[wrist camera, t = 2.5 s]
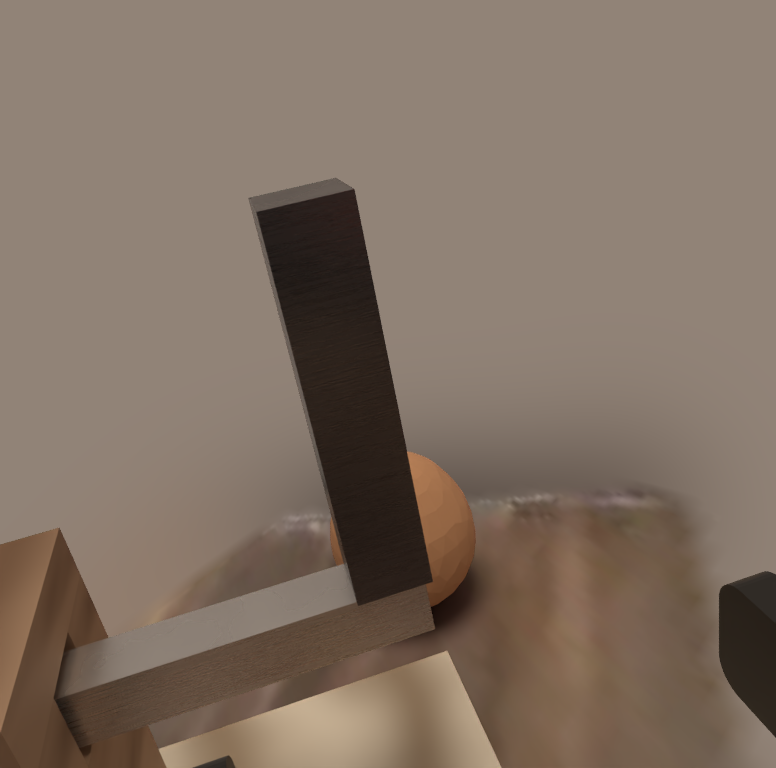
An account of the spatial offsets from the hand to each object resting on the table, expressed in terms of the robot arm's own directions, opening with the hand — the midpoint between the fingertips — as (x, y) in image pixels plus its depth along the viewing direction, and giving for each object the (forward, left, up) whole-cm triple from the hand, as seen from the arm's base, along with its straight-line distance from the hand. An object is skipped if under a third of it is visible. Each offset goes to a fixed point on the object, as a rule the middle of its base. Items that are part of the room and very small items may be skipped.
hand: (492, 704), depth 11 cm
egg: (+2, +23, -17) cm, 29 cm away
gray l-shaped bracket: (-8, +11, -7) cm, 16 cm away
